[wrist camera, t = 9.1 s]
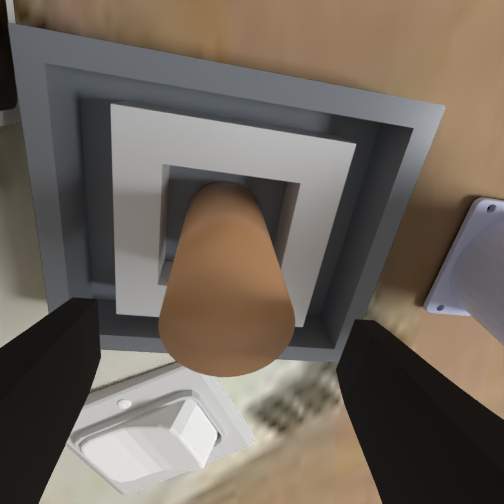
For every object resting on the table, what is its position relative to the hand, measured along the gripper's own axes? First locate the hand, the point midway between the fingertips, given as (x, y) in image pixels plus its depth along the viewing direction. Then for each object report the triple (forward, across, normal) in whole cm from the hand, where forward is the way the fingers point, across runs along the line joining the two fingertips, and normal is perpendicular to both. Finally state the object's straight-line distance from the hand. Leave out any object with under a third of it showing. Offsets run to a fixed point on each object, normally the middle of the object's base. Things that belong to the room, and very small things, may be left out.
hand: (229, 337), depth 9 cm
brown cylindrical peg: (+9, 0, 0) cm, 9 cm away
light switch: (+11, +3, +18) cm, 21 cm away
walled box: (+10, 0, 0) cm, 10 cm away
